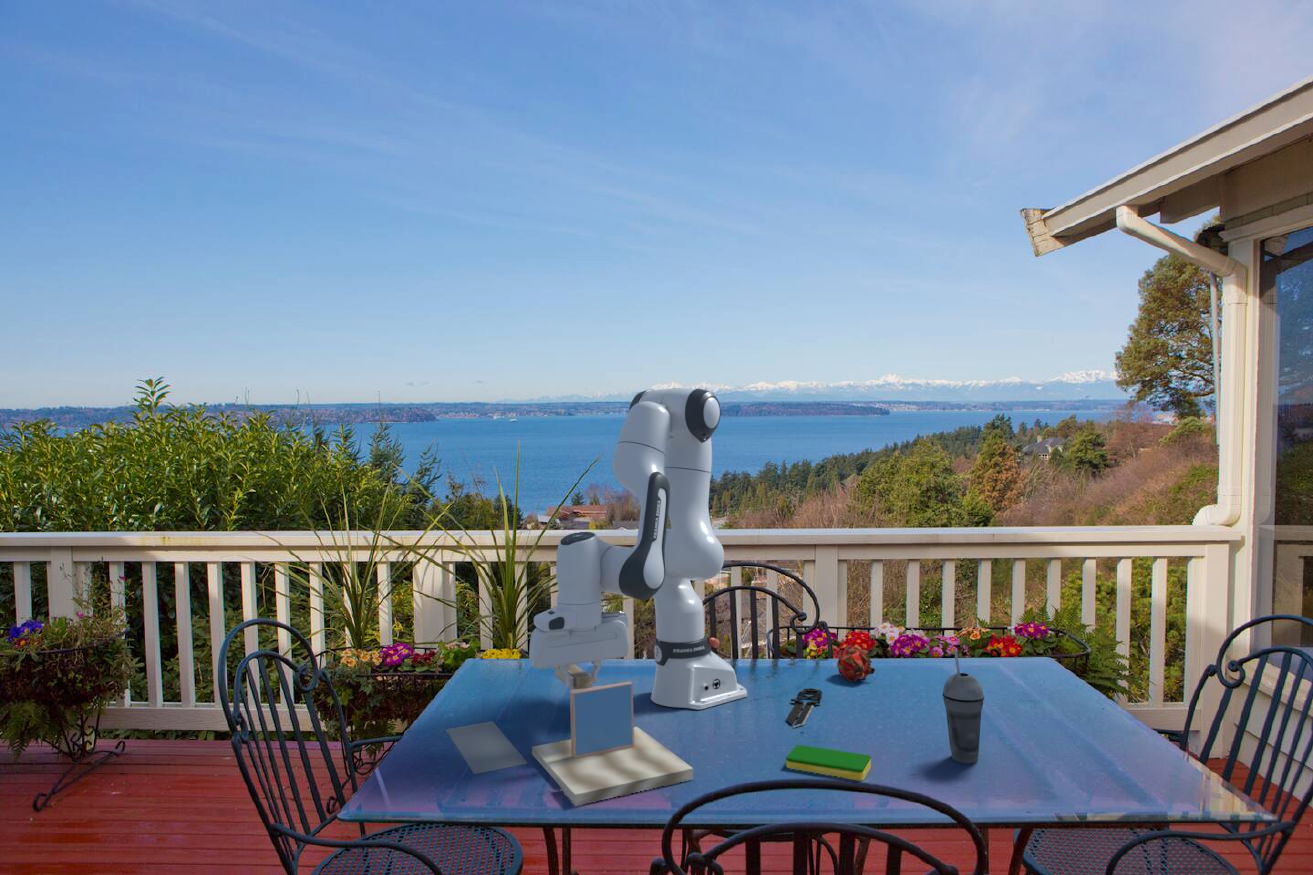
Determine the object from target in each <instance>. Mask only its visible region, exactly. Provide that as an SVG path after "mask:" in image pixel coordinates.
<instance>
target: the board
mask: <svg viewBox="0 0 1313 875" xmlns="http://www.w3.org/2000/svg"><path fill="white" fill-rule="evenodd" d="M531 755H532V756H533V757H534V758H535V760H536V761H537V762H538V763H539V764H540V765H541V767H543V768H544V769H545V770H546V772H547V773H548V774H549V776H550V777H551V778H552V779H553V780H554V781H555V782H556V784H558V786H559V788H560V789H561V790H562V791H563V792H564V793H563V792H562V791H561V790H560V789H559V790H560V791H561V792H562V793H563V794H564V796H565V797H566V796H567V797H569V799H570V800H571V801H572V802H573V803H574V804H575V805H581V804H584V803H589V802H593V801H598V800H602V799H605V798H610V797H616V798H618V797H617V796H621V797H623V796H622V795H625V796H628V795H627V794H629V795H632V794H631V793H634V794H636V793H635V792H638V793H641V792H640V791H642V792H645V791H644V790H647V791H650V790H649V789H651V790H653V789H652V788H655V789H658V788H657V787H660V788H662V787H661V786H664V787H667V786H672V785H676V784H681V783H680V782H682V783H686V782H690V781H693V780H694V768H693V767H692V766H690V764H688V763H686V761H684V760H683V759H681V758H680V757H679V756H677V754H675V753H673V752H672V751H671V750H669V749H668V748H666V747H665V746H664V745H662V744H661V743H660V742H659V741H657V740H656V739H654V738H653V737H652V736H651V735H649V734H648V733H646V732H645V731H644V730H642V729H641V728H639V726H634V747H632V748H627V749H622V750H617V751H612V752H607V753H602V754H597V755H592V756H587V757H582V758H578V759H574V758H573V757H572V756H571V738H570V739H565V740H560V741H555V742H548V743H544V744H539V745H534V746H531ZM689 780H690V781H689ZM685 781H686V782H685ZM567 797H566V798H567ZM569 799H568V800H569ZM570 800H569V801H570ZM571 801H570V802H571ZM572 802H571V803H572Z"/></svg>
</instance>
